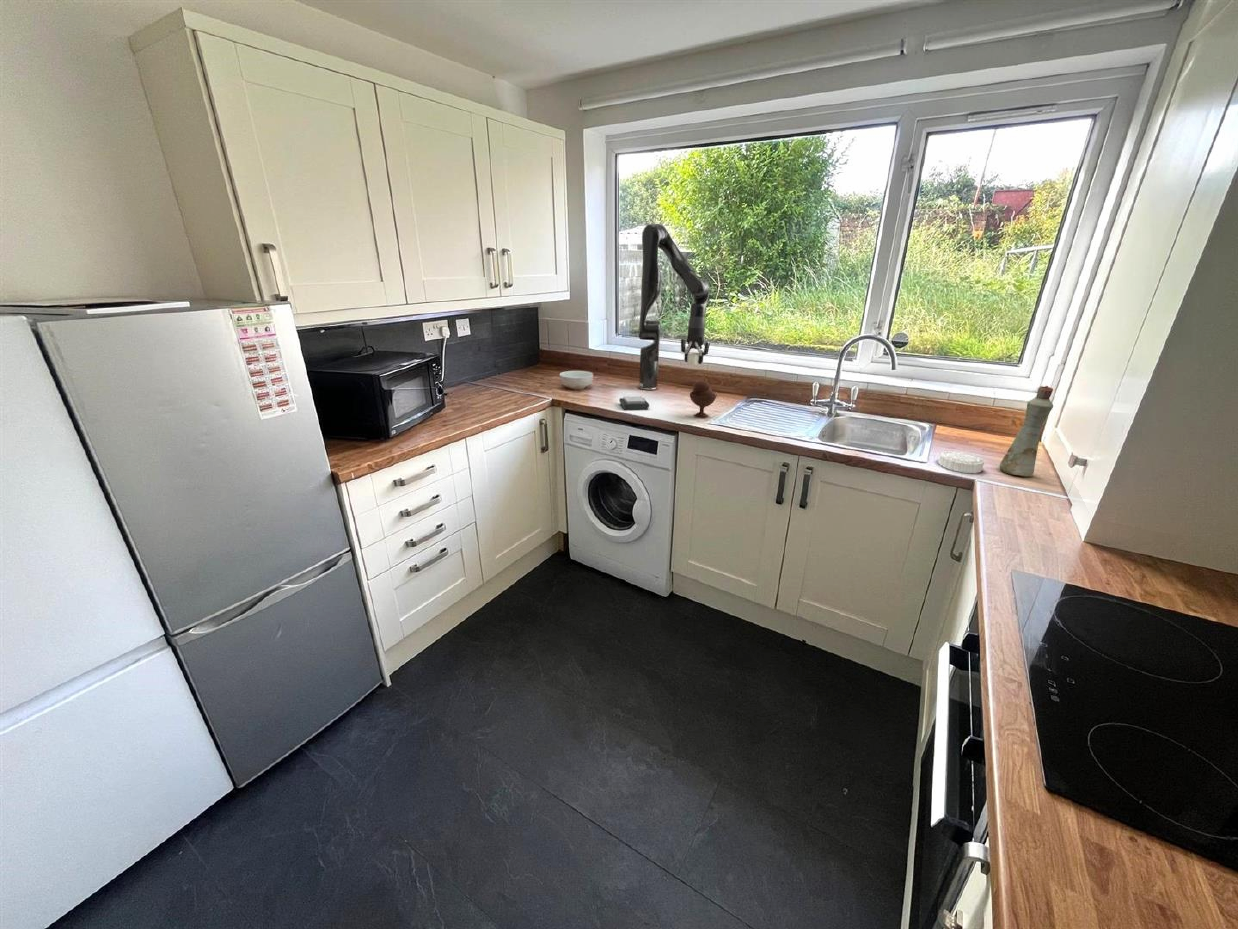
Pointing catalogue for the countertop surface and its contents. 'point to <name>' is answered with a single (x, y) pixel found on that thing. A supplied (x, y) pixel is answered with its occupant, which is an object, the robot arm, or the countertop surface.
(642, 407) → the scale
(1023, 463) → the bottle
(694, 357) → the white short cylinder
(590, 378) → the cereal bowl
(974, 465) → the mooncake
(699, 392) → the ice cream bowl
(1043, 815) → the countertop surface
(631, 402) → the scale pan
